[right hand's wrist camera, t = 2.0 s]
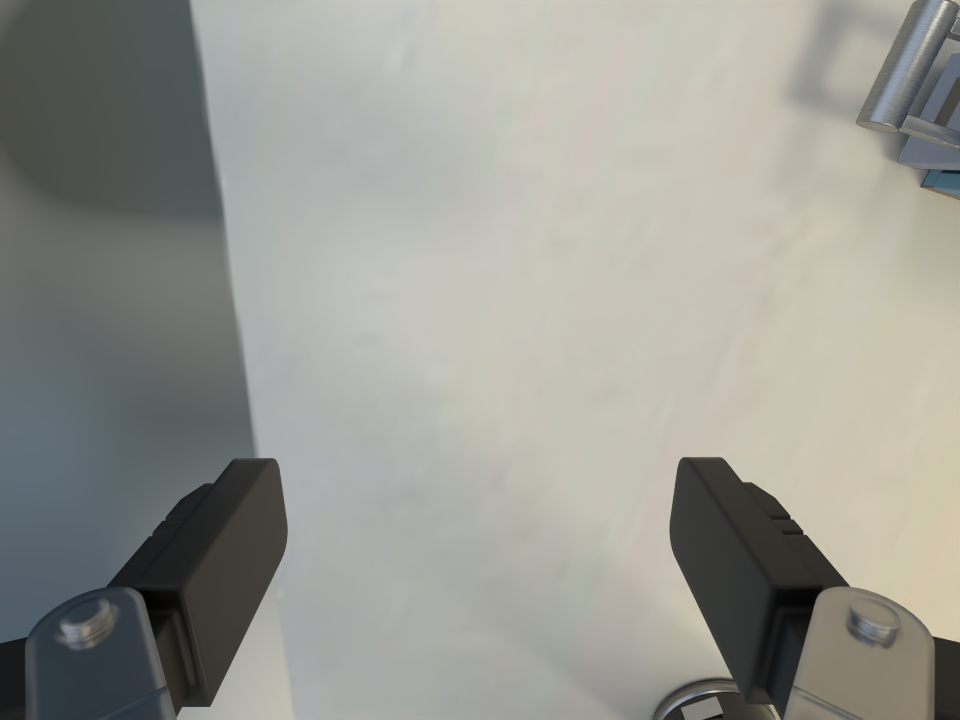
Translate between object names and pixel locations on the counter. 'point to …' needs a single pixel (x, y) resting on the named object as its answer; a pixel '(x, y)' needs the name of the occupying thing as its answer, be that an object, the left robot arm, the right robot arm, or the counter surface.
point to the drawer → (952, 105)
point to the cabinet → (943, 182)
